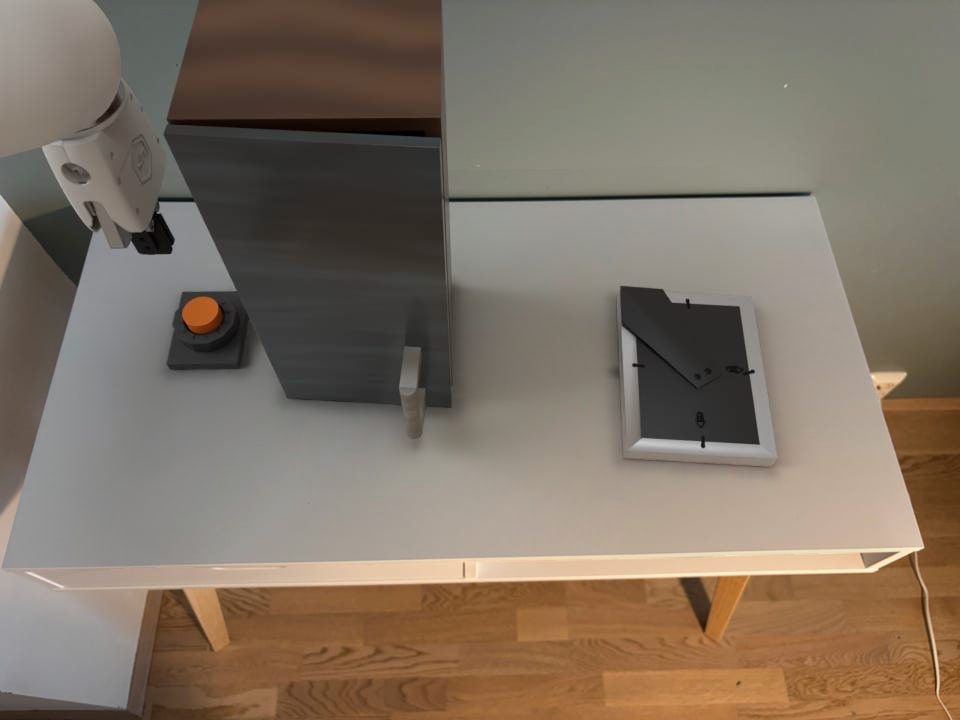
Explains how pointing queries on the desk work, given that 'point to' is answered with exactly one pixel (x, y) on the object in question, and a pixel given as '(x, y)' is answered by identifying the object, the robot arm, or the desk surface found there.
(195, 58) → the cupboard
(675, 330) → the picture frame
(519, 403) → the desk surface
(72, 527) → the desk surface
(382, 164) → the cupboard door
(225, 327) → the control block
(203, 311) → the button
